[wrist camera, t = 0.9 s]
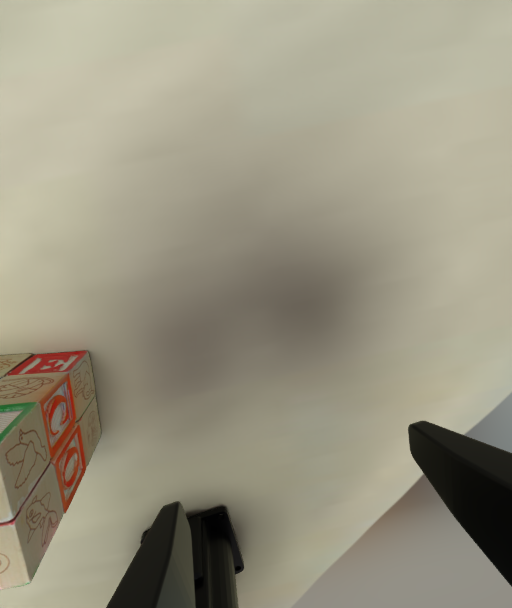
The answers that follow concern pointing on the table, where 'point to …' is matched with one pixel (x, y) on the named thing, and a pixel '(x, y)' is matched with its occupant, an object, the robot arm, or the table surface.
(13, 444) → the stack of blocks
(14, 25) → the table surface
